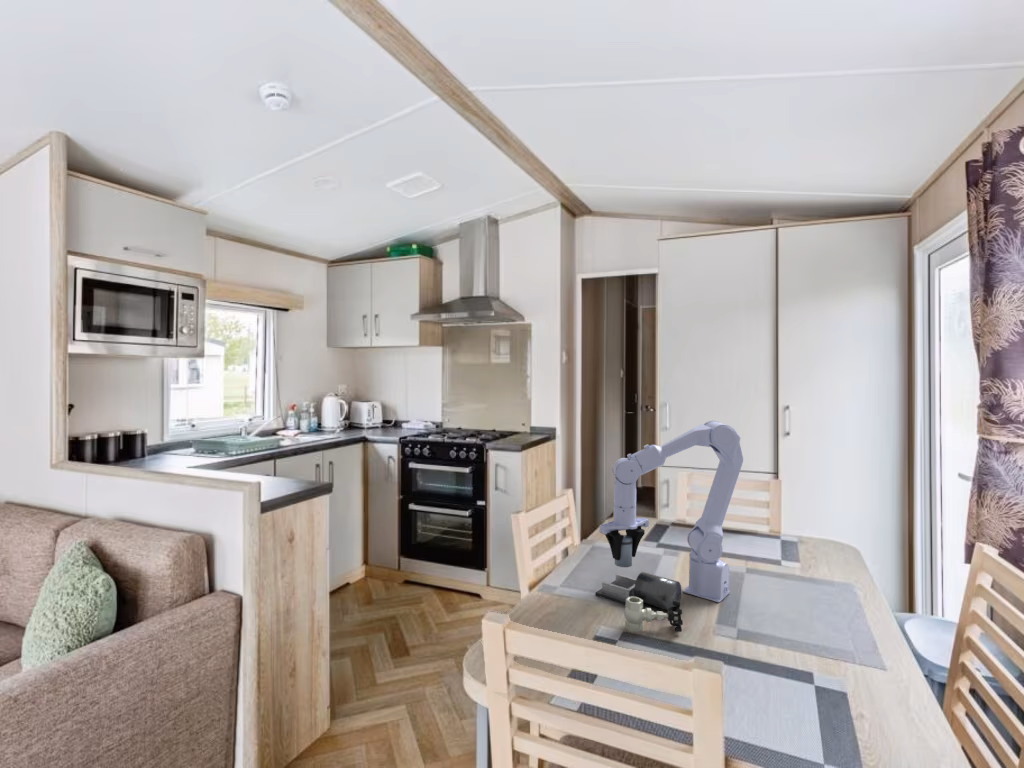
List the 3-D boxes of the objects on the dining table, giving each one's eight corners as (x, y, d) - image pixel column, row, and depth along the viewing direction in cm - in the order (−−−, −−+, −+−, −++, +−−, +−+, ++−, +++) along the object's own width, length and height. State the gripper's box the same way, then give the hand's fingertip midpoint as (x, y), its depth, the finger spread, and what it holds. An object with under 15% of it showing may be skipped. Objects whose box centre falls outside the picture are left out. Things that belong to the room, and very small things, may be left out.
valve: (626, 635, 120) (682, 638, 119) (626, 605, 119) (683, 608, 118) (622, 621, 126) (676, 623, 125) (623, 593, 126) (676, 595, 125)
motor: (683, 603, 135) (684, 575, 134) (666, 618, 127) (666, 588, 127) (615, 583, 147) (615, 557, 147) (595, 595, 140) (595, 568, 139)
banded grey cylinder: (625, 559, 146) (626, 533, 145) (635, 565, 141) (636, 539, 141) (610, 562, 144) (611, 535, 143) (620, 568, 139) (621, 541, 139)
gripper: (612, 512, 135) (611, 567, 135) (657, 505, 141) (656, 557, 142) (594, 505, 141) (594, 558, 141) (638, 499, 148) (637, 549, 148)
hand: (623, 557), depth 142 cm, fingers closed on banded grey cylinder, 4 cm apart
